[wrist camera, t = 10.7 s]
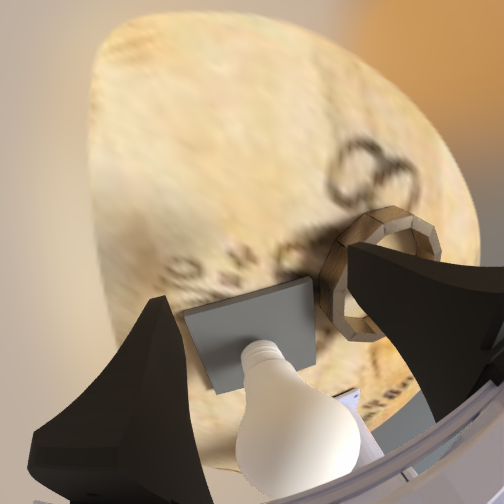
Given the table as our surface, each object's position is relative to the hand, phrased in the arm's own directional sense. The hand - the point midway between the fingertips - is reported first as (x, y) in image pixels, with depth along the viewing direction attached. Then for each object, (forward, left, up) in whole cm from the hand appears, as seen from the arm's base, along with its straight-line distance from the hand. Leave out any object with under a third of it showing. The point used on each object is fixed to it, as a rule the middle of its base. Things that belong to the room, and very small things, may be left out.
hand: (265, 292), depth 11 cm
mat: (-8, 0, -6) cm, 10 cm away
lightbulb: (-8, 0, -5) cm, 9 cm away
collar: (-5, -10, -6) cm, 12 cm away
